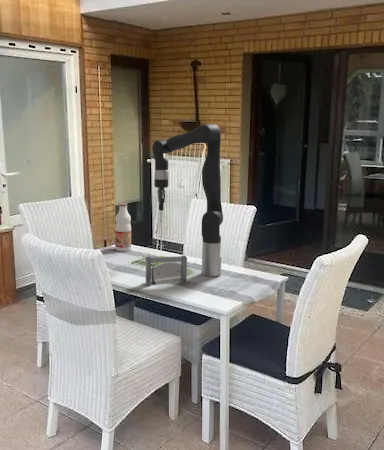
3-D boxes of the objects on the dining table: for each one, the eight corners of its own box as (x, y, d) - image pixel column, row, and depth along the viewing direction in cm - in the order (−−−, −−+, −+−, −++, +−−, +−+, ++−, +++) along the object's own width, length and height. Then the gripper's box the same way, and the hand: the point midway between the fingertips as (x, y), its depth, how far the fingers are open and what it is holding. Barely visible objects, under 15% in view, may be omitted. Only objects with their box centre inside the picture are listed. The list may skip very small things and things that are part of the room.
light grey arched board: (155, 285, 234) (152, 264, 235) (151, 285, 238) (148, 264, 239) (186, 280, 242) (183, 260, 243) (182, 281, 246) (179, 261, 247)
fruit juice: (130, 251, 292) (130, 205, 287) (114, 251, 292) (114, 204, 286) (131, 248, 301) (132, 202, 296) (116, 247, 301) (116, 202, 296)
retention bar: (184, 281, 240) (185, 255, 237) (186, 284, 236) (187, 257, 233) (145, 283, 236) (145, 256, 233) (146, 285, 232) (146, 259, 229)
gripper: (170, 179, 258) (169, 212, 261) (166, 176, 271) (165, 208, 274) (156, 179, 256) (155, 212, 260) (152, 176, 269) (152, 208, 272)
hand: (160, 210), depth 267 cm, fingers closed
